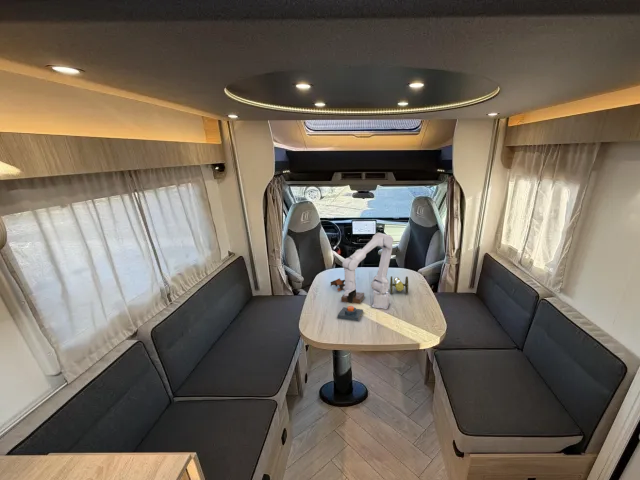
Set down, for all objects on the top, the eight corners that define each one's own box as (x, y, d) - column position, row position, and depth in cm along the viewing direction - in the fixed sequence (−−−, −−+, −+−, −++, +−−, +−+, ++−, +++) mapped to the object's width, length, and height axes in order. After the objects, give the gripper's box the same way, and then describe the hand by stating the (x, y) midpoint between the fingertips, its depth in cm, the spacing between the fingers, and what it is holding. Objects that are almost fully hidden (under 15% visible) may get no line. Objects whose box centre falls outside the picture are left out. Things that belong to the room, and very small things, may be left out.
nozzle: (354, 309, 175) (354, 306, 175) (352, 311, 172) (352, 309, 172) (348, 308, 176) (348, 305, 176) (346, 311, 173) (346, 308, 172)
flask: (363, 312, 179) (363, 306, 177) (358, 321, 170) (358, 314, 168) (343, 310, 181) (343, 304, 180) (337, 318, 172) (337, 312, 171)
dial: (350, 293, 197) (350, 287, 196) (356, 294, 196) (356, 288, 195) (349, 295, 193) (348, 290, 192) (355, 296, 192) (355, 290, 191)
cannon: (388, 282, 222) (388, 267, 218) (404, 282, 222) (405, 267, 218) (390, 297, 199) (390, 280, 195) (408, 297, 199) (409, 280, 195)
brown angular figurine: (334, 293, 205) (329, 282, 205) (332, 294, 214) (328, 283, 214) (351, 286, 208) (346, 275, 208) (348, 287, 217) (343, 276, 218)
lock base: (364, 297, 199) (364, 292, 198) (360, 303, 190) (360, 299, 189) (346, 295, 202) (346, 290, 201) (341, 301, 193) (341, 297, 192)
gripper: (347, 274, 175) (347, 296, 180) (338, 284, 162) (339, 307, 167) (359, 275, 174) (359, 297, 178) (351, 285, 161) (351, 308, 165)
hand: (350, 302), depth 173 cm, fingers closed
